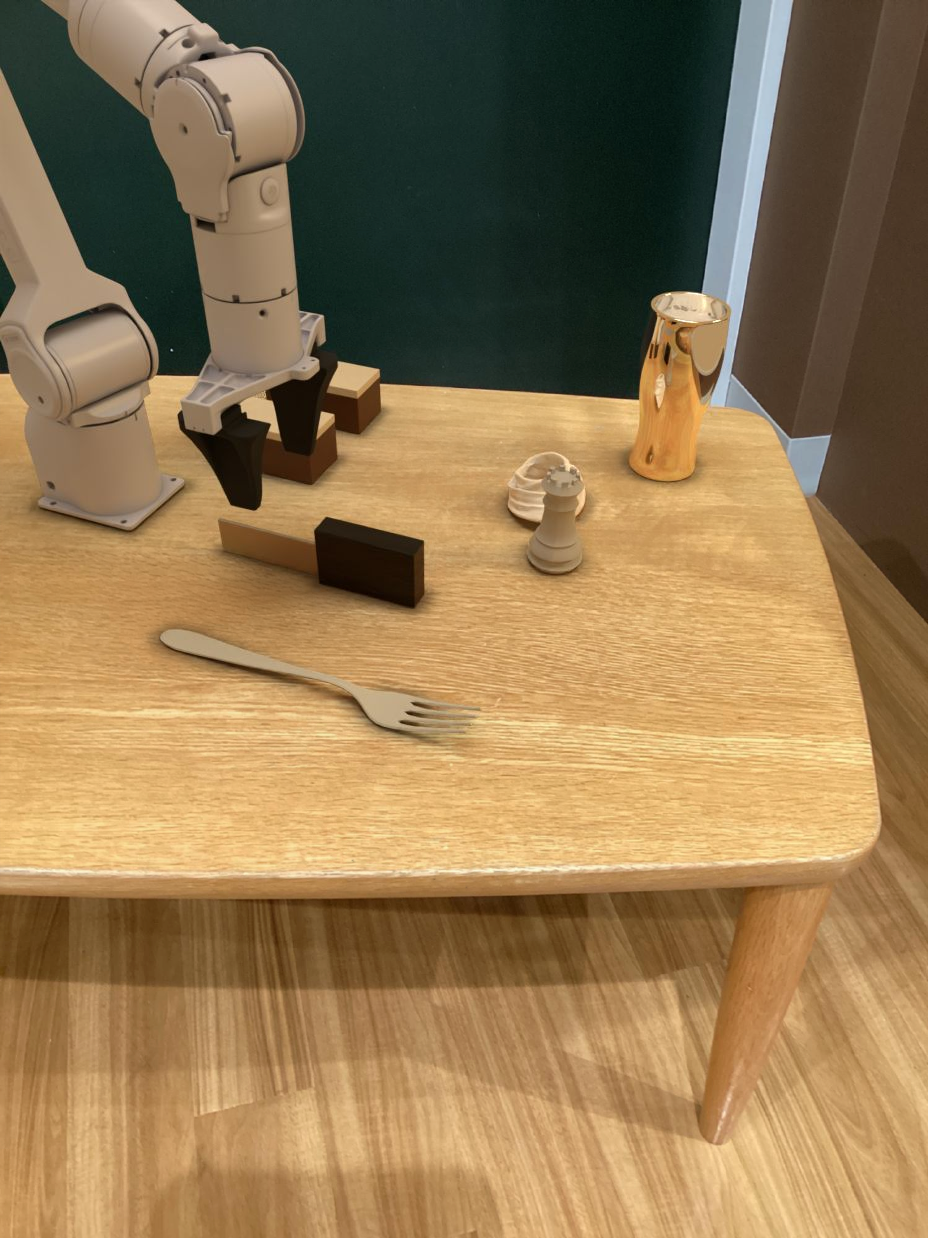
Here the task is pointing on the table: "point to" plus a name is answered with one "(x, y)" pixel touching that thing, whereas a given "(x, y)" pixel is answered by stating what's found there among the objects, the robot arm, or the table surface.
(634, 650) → the table surface
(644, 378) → the copper metal vase
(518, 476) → the white ruffled curved piece
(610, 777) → the table surface
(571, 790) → the table surface
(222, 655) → the fork
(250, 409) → the cake
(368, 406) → the cake slice
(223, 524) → the two-tone wooden slat
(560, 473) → the rook chess piece
